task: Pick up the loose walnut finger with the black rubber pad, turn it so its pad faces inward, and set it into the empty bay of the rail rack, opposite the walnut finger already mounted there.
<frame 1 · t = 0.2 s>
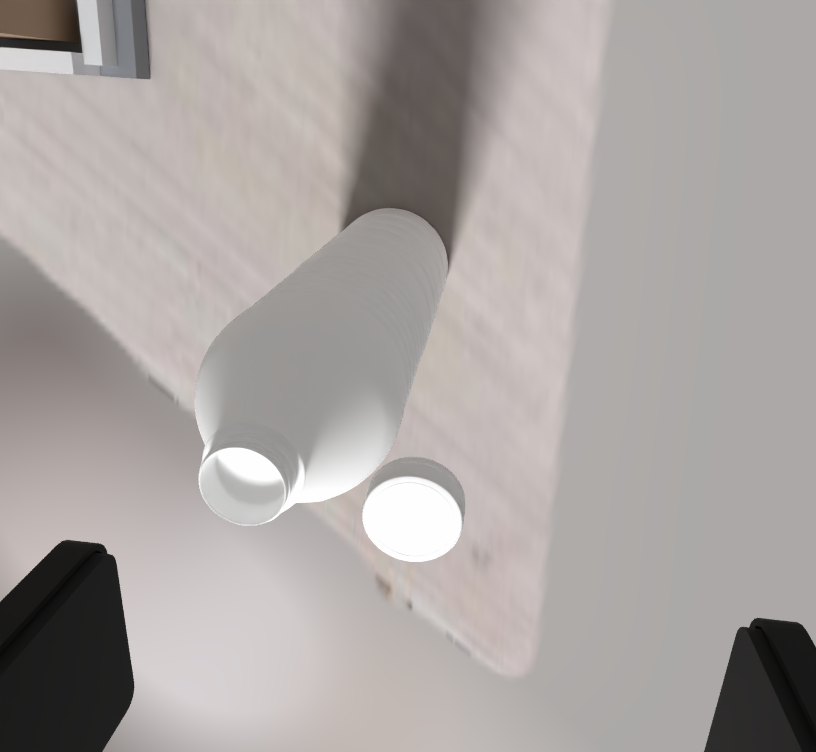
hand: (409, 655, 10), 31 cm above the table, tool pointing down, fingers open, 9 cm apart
water bottle: (411, 266, 40), on the table
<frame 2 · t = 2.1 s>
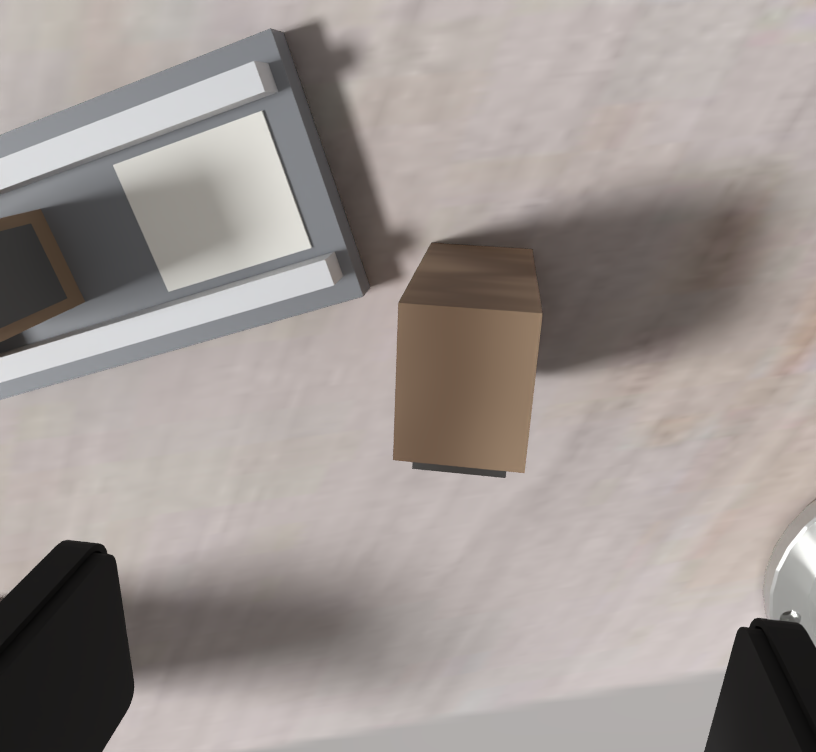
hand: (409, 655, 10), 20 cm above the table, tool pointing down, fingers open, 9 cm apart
walnut finger: (476, 306, 28), on the table
rail rack: (133, 232, 29), on the table
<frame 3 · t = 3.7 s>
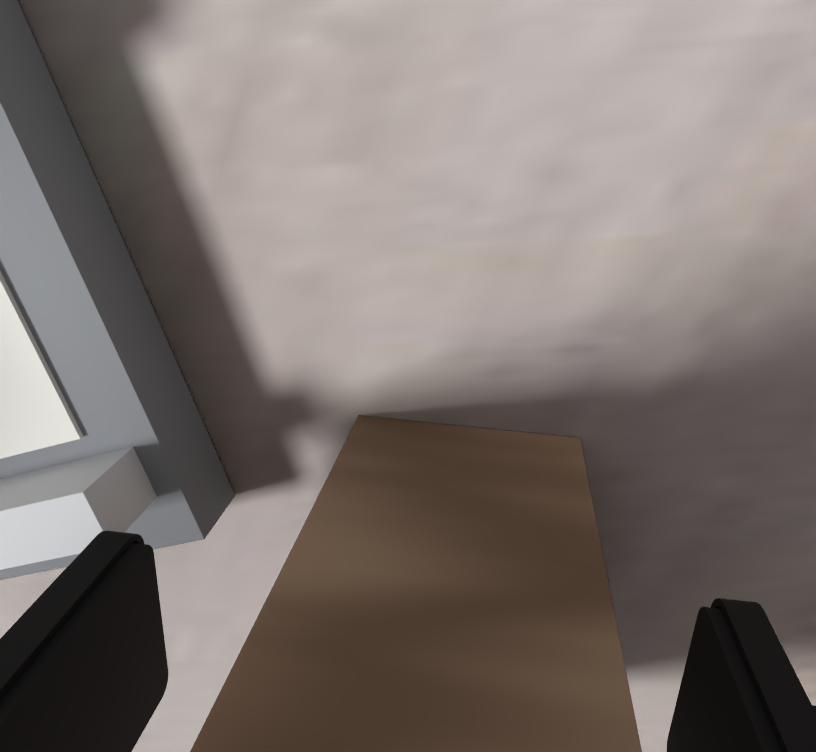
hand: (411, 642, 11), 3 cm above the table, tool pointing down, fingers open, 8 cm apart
walnut finger: (457, 542, 13), on the table
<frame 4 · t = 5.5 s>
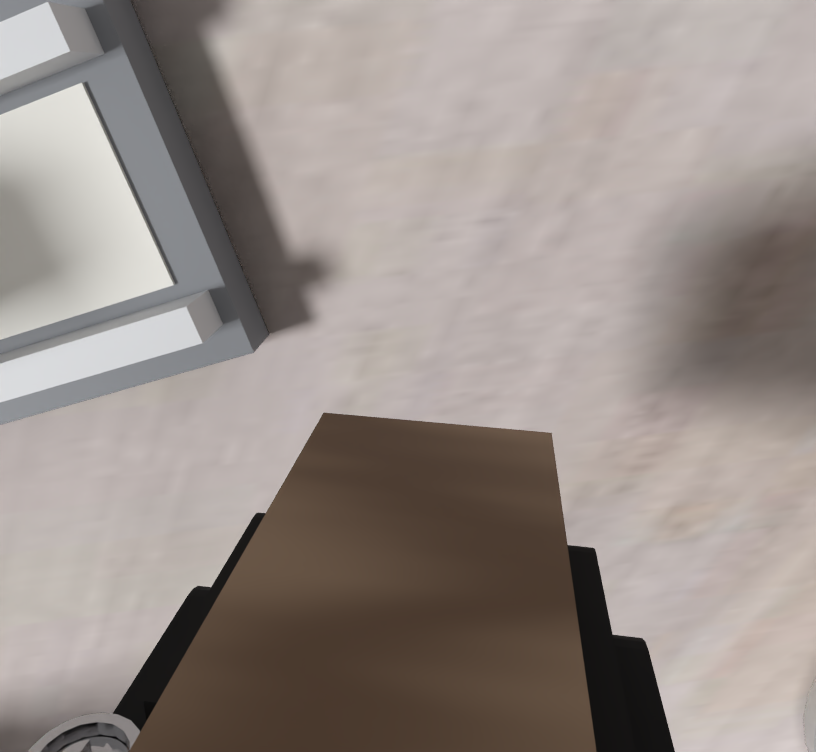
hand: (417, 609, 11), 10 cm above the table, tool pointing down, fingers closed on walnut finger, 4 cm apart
walnut finger: (428, 542, 13), point 8 cm above the table, touching gripper
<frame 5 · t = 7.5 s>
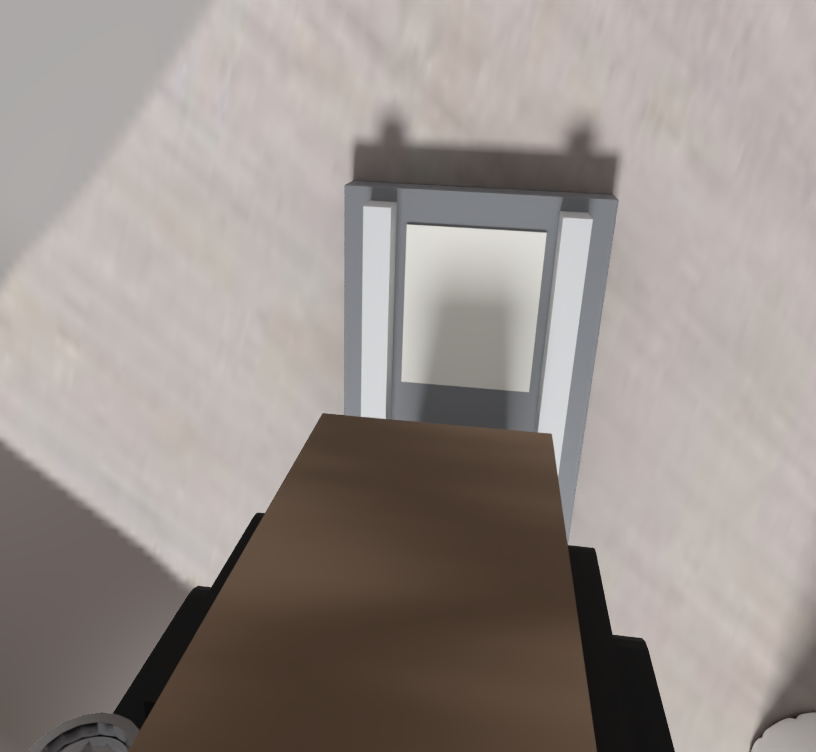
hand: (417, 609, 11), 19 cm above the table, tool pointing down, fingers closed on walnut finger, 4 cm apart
walnut finger: (428, 543, 13), point 17 cm above the table, touching gripper
rail rack: (464, 400, 30), on the table
when the fingers open (5 cm above the table, at t = 10.7 s): walnut finger drops 2 cm, resting on rail rack.
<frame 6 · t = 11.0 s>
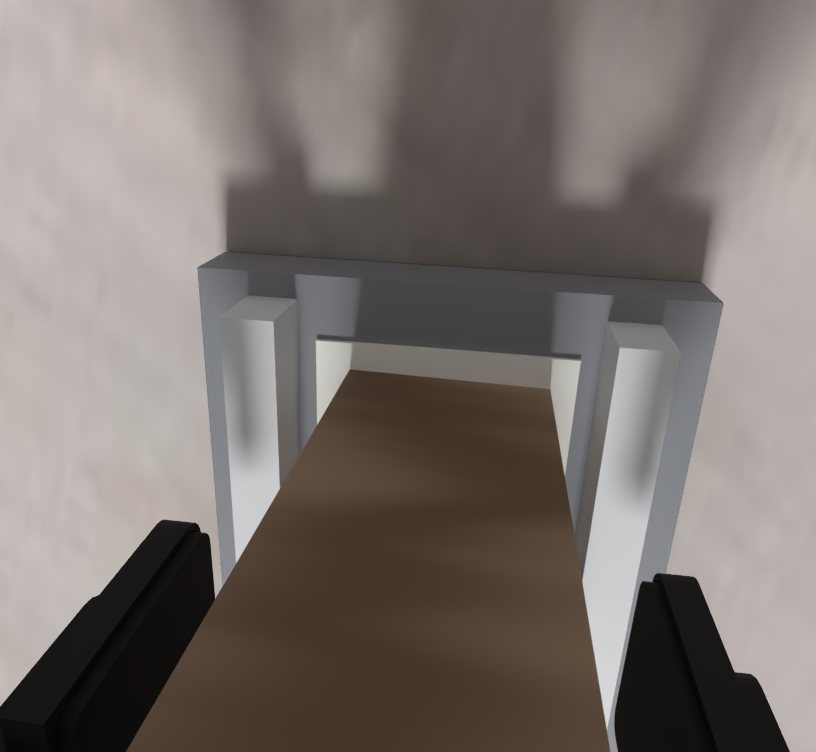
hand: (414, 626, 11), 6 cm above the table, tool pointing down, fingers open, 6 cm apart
walnut finger: (439, 488, 15), point 2 cm above the table, touching rail rack
rail rack: (433, 609, 18), on the table
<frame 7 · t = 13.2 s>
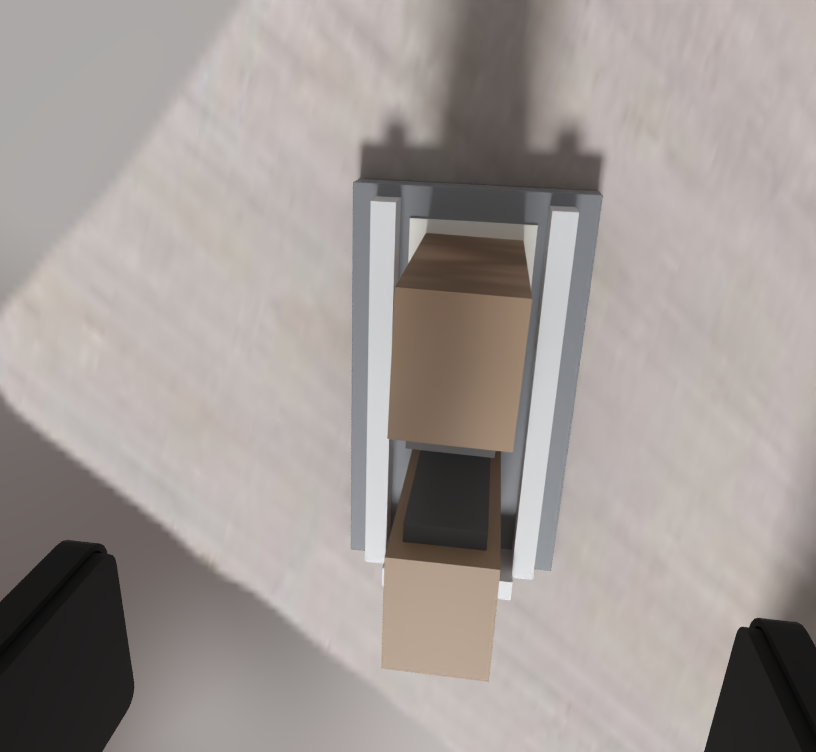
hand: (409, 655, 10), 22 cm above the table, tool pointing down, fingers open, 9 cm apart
walnut finger: (469, 295, 29), point 2 cm above the table, touching rail rack
rail rack: (462, 381, 33), on the table
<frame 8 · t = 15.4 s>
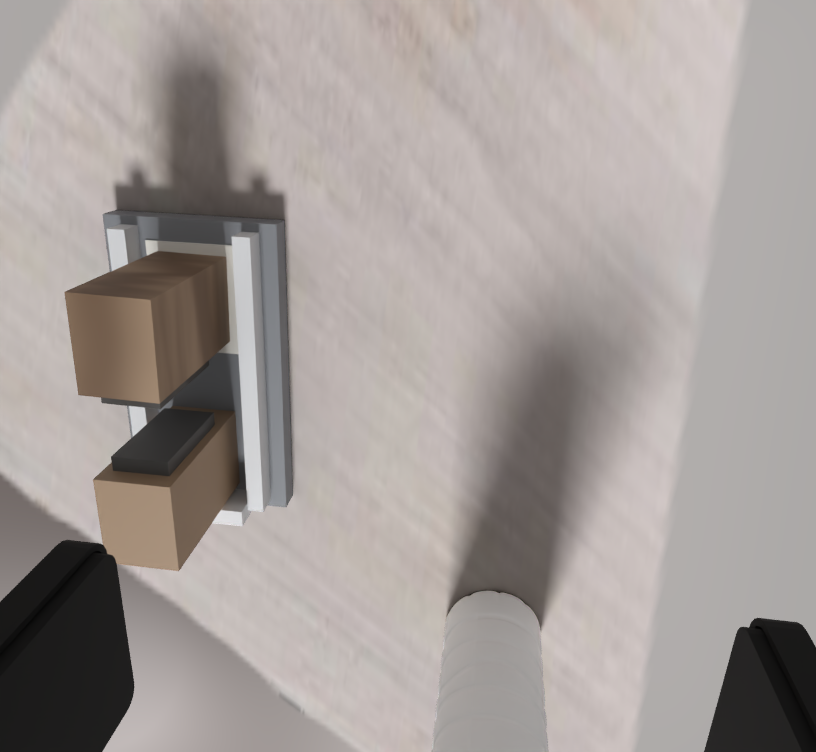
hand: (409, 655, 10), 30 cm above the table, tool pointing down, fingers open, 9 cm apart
walnut finger: (194, 296, 40), point 2 cm above the table, touching rail rack
water bottle: (508, 627, 48), on the table
rail rack: (210, 362, 43), on the table
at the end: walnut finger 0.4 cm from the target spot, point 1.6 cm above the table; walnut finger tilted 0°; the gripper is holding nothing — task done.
